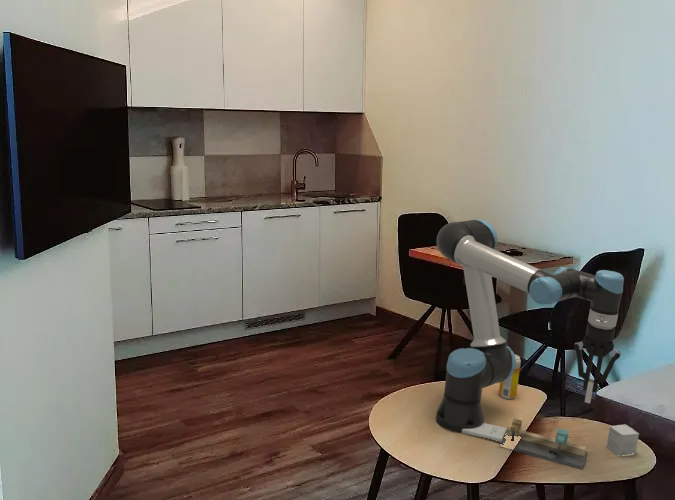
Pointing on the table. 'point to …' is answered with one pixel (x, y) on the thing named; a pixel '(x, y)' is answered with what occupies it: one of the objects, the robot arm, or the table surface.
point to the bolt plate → (549, 453)
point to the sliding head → (561, 437)
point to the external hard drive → (487, 431)
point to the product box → (622, 440)
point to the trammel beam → (542, 439)
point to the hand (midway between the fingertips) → (587, 401)
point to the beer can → (510, 382)
